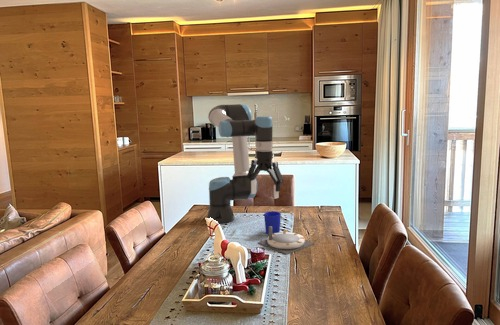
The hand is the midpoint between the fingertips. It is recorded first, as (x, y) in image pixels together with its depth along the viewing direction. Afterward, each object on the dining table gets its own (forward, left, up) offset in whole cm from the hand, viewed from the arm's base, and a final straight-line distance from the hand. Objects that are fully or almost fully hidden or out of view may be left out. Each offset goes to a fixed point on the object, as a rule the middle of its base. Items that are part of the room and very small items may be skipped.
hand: (264, 196), depth 175 cm
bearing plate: (+10, +4, -21) cm, 24 cm away
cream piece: (+10, +4, -21) cm, 24 cm away
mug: (-6, +11, -22) cm, 25 cm away
